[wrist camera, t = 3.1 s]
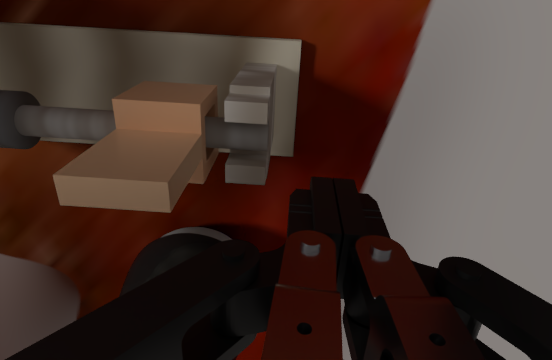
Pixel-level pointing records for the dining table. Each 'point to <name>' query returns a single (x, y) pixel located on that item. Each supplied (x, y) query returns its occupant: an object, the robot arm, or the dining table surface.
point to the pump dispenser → (169, 254)
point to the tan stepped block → (145, 150)
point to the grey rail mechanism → (148, 67)
